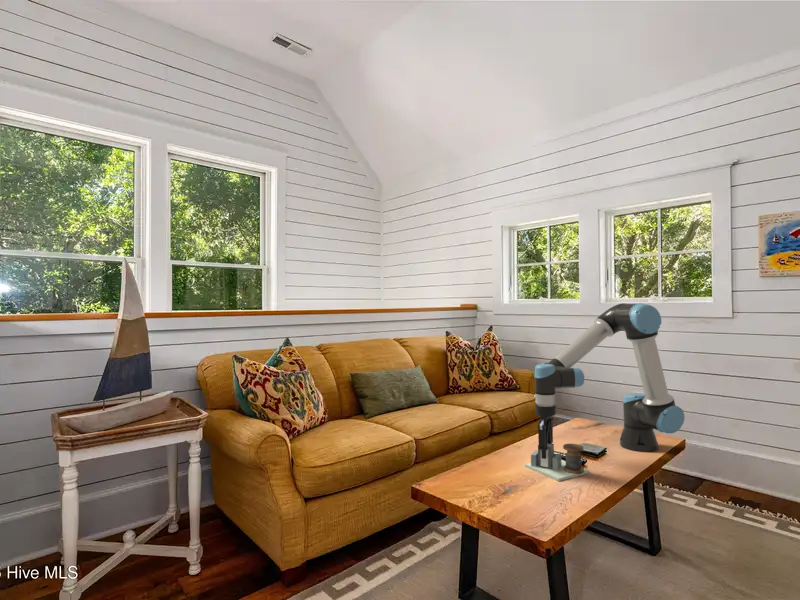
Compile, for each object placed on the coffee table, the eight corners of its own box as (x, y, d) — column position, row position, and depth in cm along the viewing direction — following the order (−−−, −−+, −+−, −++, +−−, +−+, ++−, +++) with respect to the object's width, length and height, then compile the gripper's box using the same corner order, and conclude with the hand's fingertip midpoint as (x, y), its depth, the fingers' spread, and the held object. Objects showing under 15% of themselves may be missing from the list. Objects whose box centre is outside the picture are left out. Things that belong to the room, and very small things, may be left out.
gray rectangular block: (541, 462, 188) (540, 442, 188) (554, 464, 186) (553, 444, 186) (538, 465, 185) (537, 445, 185) (551, 468, 182) (551, 447, 182)
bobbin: (572, 465, 185) (572, 442, 185) (588, 471, 179) (587, 447, 179) (559, 469, 182) (559, 445, 182) (574, 475, 176) (574, 450, 176)
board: (554, 459, 196) (554, 456, 196) (589, 472, 180) (589, 470, 180) (524, 466, 188) (524, 463, 188) (558, 481, 173) (558, 478, 173)
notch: (535, 461, 191) (535, 450, 191) (561, 465, 185) (561, 454, 185) (531, 466, 186) (530, 454, 186) (557, 470, 180) (557, 459, 180)
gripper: (541, 399, 194) (542, 456, 195) (529, 408, 180) (530, 469, 180) (560, 401, 190) (561, 459, 191) (549, 410, 176) (550, 473, 176)
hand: (546, 464), depth 185 cm, fingers closed on gray rectangular block, 4 cm apart
